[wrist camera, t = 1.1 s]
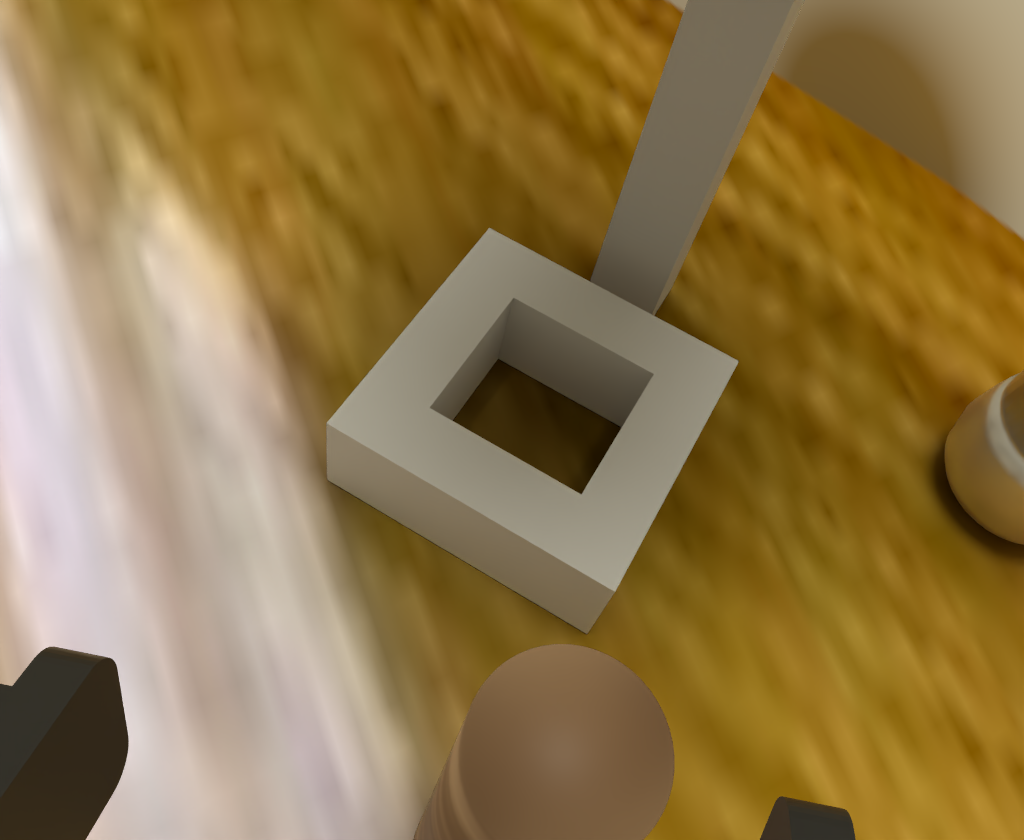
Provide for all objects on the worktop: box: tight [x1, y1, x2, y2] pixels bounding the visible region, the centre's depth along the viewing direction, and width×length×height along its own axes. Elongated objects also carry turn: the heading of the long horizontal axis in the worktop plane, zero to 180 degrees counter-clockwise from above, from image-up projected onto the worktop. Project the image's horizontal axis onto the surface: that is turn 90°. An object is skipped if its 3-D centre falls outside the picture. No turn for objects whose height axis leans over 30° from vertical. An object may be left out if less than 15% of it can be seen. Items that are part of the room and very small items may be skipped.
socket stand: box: [326, 0, 805, 634], centre depth 26 cm, size 18×14×32 cm
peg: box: [413, 644, 674, 840], centre depth 24 cm, size 4×4×14 cm
